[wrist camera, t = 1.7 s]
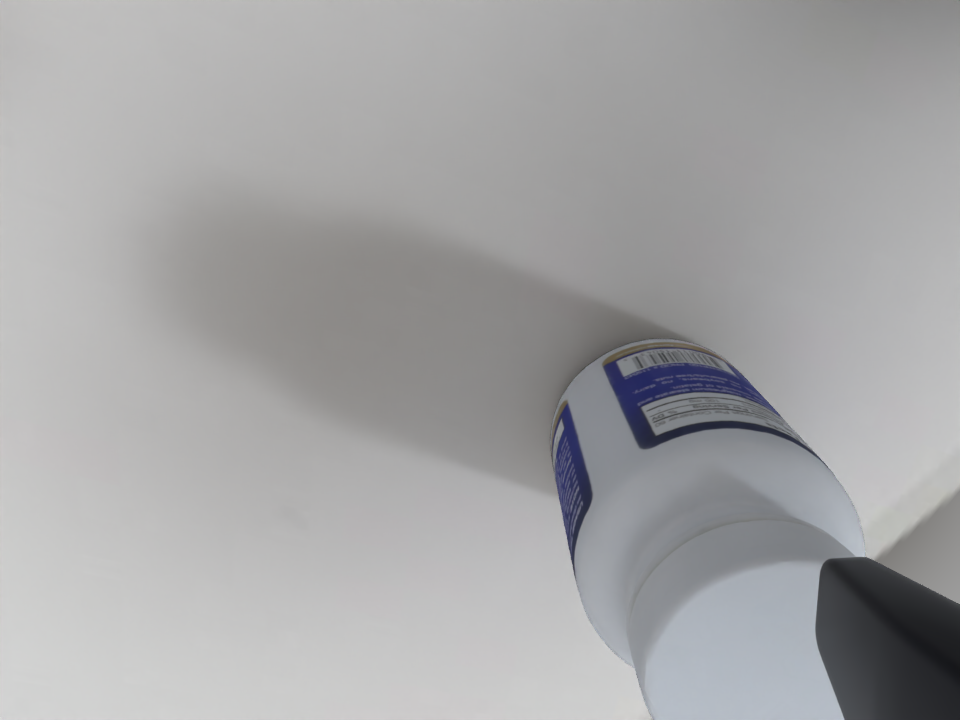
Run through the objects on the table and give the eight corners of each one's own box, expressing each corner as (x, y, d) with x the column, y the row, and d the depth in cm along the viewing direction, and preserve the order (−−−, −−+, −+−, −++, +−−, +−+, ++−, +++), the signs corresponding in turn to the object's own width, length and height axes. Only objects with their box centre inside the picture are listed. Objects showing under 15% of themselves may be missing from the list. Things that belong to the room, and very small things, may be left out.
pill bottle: (659, 556, 22) (770, 859, 13) (507, 448, 20) (524, 702, 12) (800, 414, 20) (1027, 651, 12) (645, 289, 19) (772, 453, 11)
